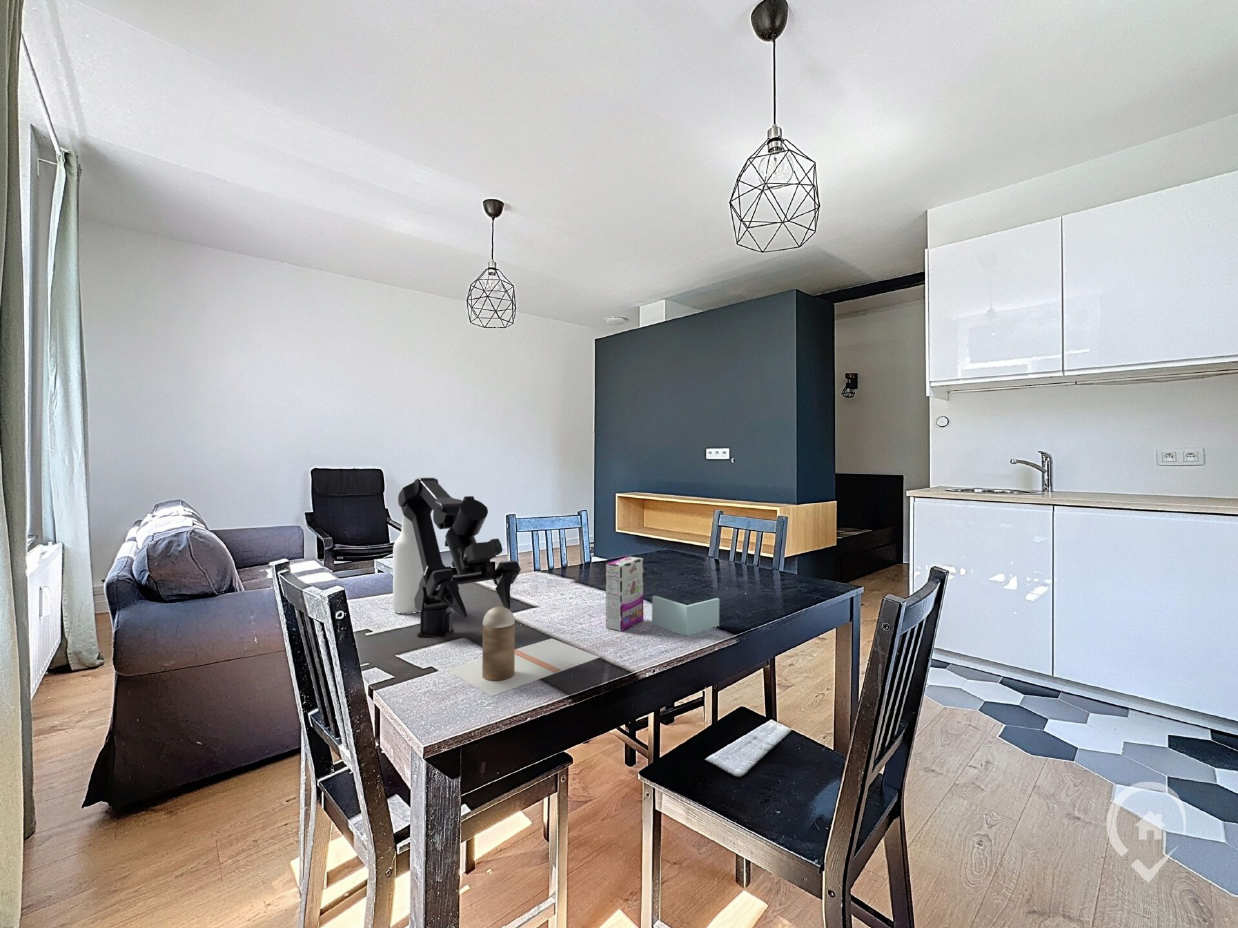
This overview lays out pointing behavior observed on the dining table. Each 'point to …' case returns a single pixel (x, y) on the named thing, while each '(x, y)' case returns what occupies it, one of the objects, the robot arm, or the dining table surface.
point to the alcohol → (406, 569)
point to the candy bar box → (624, 593)
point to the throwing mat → (527, 665)
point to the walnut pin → (498, 644)
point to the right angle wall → (685, 615)
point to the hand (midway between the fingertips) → (487, 613)
